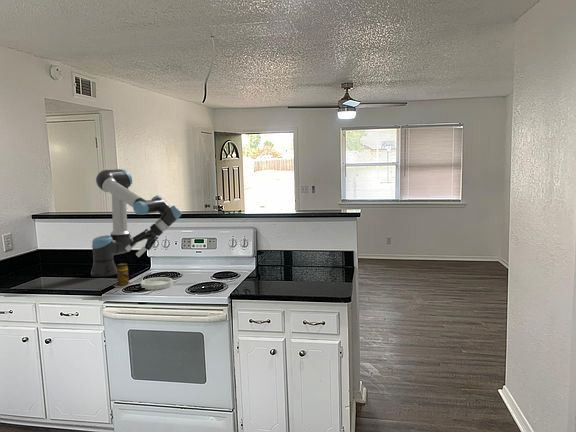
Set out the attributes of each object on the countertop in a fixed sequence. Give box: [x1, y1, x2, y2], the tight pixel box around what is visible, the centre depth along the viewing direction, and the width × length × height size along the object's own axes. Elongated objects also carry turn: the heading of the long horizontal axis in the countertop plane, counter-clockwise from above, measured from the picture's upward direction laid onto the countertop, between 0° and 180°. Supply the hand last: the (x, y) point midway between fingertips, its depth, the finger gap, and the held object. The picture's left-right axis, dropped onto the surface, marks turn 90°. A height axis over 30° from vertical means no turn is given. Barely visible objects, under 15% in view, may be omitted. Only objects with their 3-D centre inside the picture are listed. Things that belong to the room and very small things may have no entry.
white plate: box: [140, 276, 174, 291], centre depth 258 cm, size 17×17×2 cm
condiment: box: [113, 262, 132, 288], centre depth 260 cm, size 7×8×12 cm
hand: (131, 253), depth 266 cm, fingers open, 13 cm apart
